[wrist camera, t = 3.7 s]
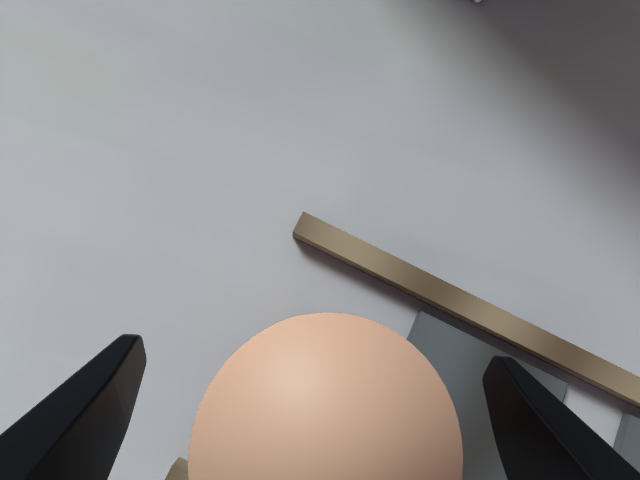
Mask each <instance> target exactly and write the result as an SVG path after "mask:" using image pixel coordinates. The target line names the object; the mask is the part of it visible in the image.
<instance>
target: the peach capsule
mask: <svg viewBox="0 0 640 480" xmlns="http://www.w3.org/2000/svg"><path fill="white" fill-rule="evenodd" d="M462 470H463V449H462V437H461V432H460V427H459V421H458V418H457V415H456V411H455V408H454V405H453V402H452V400H451V398H450V395H449V393H448V391H447V389H446V386H445V385H444V383H443V381H442V380H441V378H440V376H439V375H438V373H437V371H436V370H435V369H434V367H433V366H432V365H431V364H430V362H429V361H428V360H427V359H426V357H425V356H424V355H423V354H422V353H421V352H420V351H419V350H418V349H417V348H416V347H415V346H414V345H413V344H411V343H410V342H409V341H407V340H406V339H405V338H404V337H402V336H401V335H400V334H398V333H396V332H395V331H393V330H391V329H389V328H388V327H386V326H384V325H382V324H379V323H377V322H374V321H372V320H370V319H366V318H363V317H359V316H355V315H350V314H342V313H314V314H306V315H298V316H293V317H289V318H286V319H284V320H281V321H279V322H278V323H276V324H274V325H272V326H270V327H269V328H267V329H265V330H263V331H262V332H260V333H258V334H257V335H255V336H254V337H252V338H251V339H250V340H248V341H247V342H246V343H245V344H243V345H242V346H241V347H240V348H239V349H238V350H237V351H236V352H235V353H234V354H233V355H232V356H231V357H230V358H229V359H228V360H227V361H226V362H225V363H224V365H223V366H222V367H221V369H220V370H219V371H218V372H217V374H216V375H215V377H214V379H213V380H212V382H211V384H210V385H209V387H208V389H207V390H206V392H205V394H204V397H203V399H202V401H201V403H200V406H199V408H198V411H197V414H196V417H195V421H194V424H193V427H192V433H191V438H190V444H189V455H188V477H189V480H462Z"/></svg>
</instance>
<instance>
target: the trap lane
mask: <svg viewBox="0 0 640 480" xmlns="http://www.w3.org/2000/svg"><path fill="white" fill-rule="evenodd" d="M293 237H295V238H297V239H299V240H301V241H303V242H305V243H307V244H309V245H311V246H313V247H315V248H317V249H319V250H321V251H323V252H325V253H327V254H329V255H331V256H333V257H335V258H337V259H339V260H341V261H343V262H345V263H347V264H349V265H351V266H353V267H355V268H357V269H359V270H361V271H363V272H365V273H367V274H369V275H371V276H373V277H376V278H378V279H380V280H382V281H384V282H386V283H388V284H390V285H392V286H394V287H396V288H398V289H400V290H402V291H404V292H406V293H408V294H410V295H412V296H414V297H416V298H418V299H420V300H422V301H424V302H426V303H428V304H430V305H432V306H434V307H436V308H438V309H440V310H442V311H444V312H446V313H448V314H450V315H452V316H454V317H456V318H458V319H461V320H463V321H465V322H467V323H469V324H471V325H473V326H475V327H477V328H479V329H481V330H483V331H485V332H487V333H489V334H491V335H493V336H495V337H497V338H499V339H501V340H503V341H505V342H507V343H509V344H511V345H513V346H515V347H517V348H519V349H521V350H523V351H525V352H527V353H529V354H531V355H533V356H535V357H537V358H539V359H541V360H543V361H546V362H548V363H550V364H552V365H554V366H556V367H558V368H560V369H562V370H564V371H566V372H568V373H570V374H572V375H574V376H576V377H578V378H580V379H582V380H584V381H586V382H588V383H590V384H592V385H594V386H596V387H598V388H600V389H602V390H604V391H606V392H608V393H610V394H612V395H614V396H616V397H618V398H620V399H622V400H624V401H626V402H628V403H631V404H633V405H635V406H637V407H639V408H640V377H638V376H636V375H634V374H632V373H630V372H628V371H626V370H624V369H622V368H620V367H618V366H616V365H614V364H612V363H610V362H608V361H606V360H604V359H602V358H600V357H598V356H595V355H593V354H591V353H589V352H587V351H585V350H583V349H581V348H579V347H577V346H575V345H573V344H571V343H569V342H567V341H565V340H563V339H561V338H559V337H557V336H555V335H553V334H551V333H549V332H547V331H545V330H543V329H541V328H539V327H537V326H535V325H533V324H531V323H529V322H527V321H524V320H522V319H520V318H518V317H516V316H514V315H512V314H510V313H508V312H506V311H504V310H502V309H500V308H498V307H496V306H494V305H492V304H490V303H488V302H486V301H484V300H482V299H480V298H478V297H476V296H474V295H472V294H470V293H468V292H466V291H464V290H462V289H460V288H458V287H456V286H453V285H451V284H449V283H447V282H445V281H443V280H441V279H439V278H437V277H435V276H433V275H431V274H429V273H427V272H425V271H423V270H421V269H419V268H417V267H415V266H413V265H411V264H409V263H407V262H405V261H403V260H401V259H399V258H397V257H395V256H393V255H391V254H389V253H387V252H384V251H382V250H380V249H378V248H376V247H374V246H372V245H370V244H368V243H366V242H364V241H362V240H360V239H358V238H356V237H354V236H352V235H350V234H348V233H346V232H344V231H342V230H340V229H338V228H336V227H334V226H332V225H330V224H328V223H326V222H324V221H322V220H320V219H318V218H316V217H313V216H311V215H309V214H307V213H305V212H303V213H302V215H301V217H300V219H299V221H298V223H297V225H296V227H295V228H294V230H293ZM407 341H409V342H410V343H411V344H413V345H414V346H415V347H416V348H417V349H418V350H419V351H420V352H421V353H422V354H423V355H424V356H425V357H426V359H427V360H428V361H429V362H430V364H431V365H432V366H433V367H434V369H435V370H436V371H437V373H438V375H439V376H440V378H441V380H442V381H443V383H444V385H445V386H446V389H447V391H448V393H449V395H450V398H451V400H452V402H453V405H454V408H455V411H456V415H457V418H458V421H459V427H460V432H461V437H462V449H463V470H462V480H507V477H506V474H505V471H504V468H503V465H502V462H501V459H500V455H499V452H498V449H497V446H496V442H495V438H494V434H493V430H492V425H491V421H490V416H489V411H488V407H487V402H486V398H485V393H484V388H483V383H482V378H483V374H484V372H485V370H486V368H487V366H488V364H489V362H490V360H491V358H492V357H493V356H494V355H507V356H511V355H509V354H507V353H505V352H503V351H501V350H499V349H497V348H495V347H493V346H491V345H489V344H487V343H485V342H483V341H481V340H479V339H477V338H475V337H473V336H471V335H469V334H467V333H465V332H463V331H461V330H459V329H457V328H455V327H453V326H451V325H449V324H447V323H445V322H443V321H441V320H439V319H437V318H435V317H433V316H431V315H429V314H427V313H425V312H423V311H419V312H418V314H417V317H416V319H415V321H414V324H413V326H412V328H411V331H410V333H409V336H408V338H407ZM511 357H512V358H514V359H515V360H516V361H517V362H518V363H519V364H520V365H522V366H523V367H524V368H525V369H526V370H527V371H528V372H529V373H530V374H531V375H533V376H534V377H535V378H536V379H537V380H538V381H539V382H540V383H541V384H542V385H544V386H545V387H546V388H547V389H548V390H549V391H550V392H551V393H552V394H554V395H555V396H556V397H557V398H558V399H559V400H560V401H561V402H562V400H563V397H564V394H565V391H566V388H567V385H568V383H566V382H564V381H562V380H560V379H558V378H556V377H554V376H552V375H550V374H548V373H546V372H544V371H542V370H540V369H538V368H536V367H534V366H532V365H530V364H528V363H526V362H524V361H522V360H520V359H518V358H516V357H514V356H511ZM613 449H614V450H615V451H616V452H617V453H619V454H620V455H621V456H622V457H623V458H624V459H625V460H626V461H627V462H629V463H630V464H631V465H632V466H633V467H634V468H635V469H636V470H637V471H638V472H640V419H639V418H637V417H635V416H633V415H630V414H627V413H623V416H622V419H621V423H620V426H619V430H618V433H617V437H616V440H615V444H614V447H613ZM165 480H189V477H188V461H186V460H184V459H182V458H180V457H179V458H178V459H177V460H176V462H175V463H174V464H173V465H172V467H171V469H170V471H169V473H168V475H167V476H166V478H165Z"/></svg>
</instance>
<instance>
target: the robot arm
mask: <svg viewBox="0 0 640 480" xmlns="http://www.w3.org/2000/svg"><path fill="white" fill-rule="evenodd" d="M145 366H146V353H145V349H144V344H143V340H142V337H141V336H140V335H136V334H123V335H121V336H119V337H118V338H117V339H116V340H115V341H113V342H112V343H111V344H110V345H109V346H107V347H106V348H105V349H104V350H102V351H101V352H100V353H99V354H98V355H96V356H95V357H94V358H93V359H92V360H90V361H89V362H88V363H87V364H86V365H84V366H83V367H82V368H81V369H79V370H78V371H77V372H76V373H75V374H73V375H72V376H71V377H70V378H69V379H67V380H66V381H65V382H64V383H63V384H61V385H60V386H59V387H58V388H56V389H55V390H54V391H53V392H52V393H50V394H49V395H48V396H47V397H46V398H44V399H43V400H42V401H41V402H40V403H38V404H37V405H36V406H35V407H33V408H32V409H31V410H30V411H29V412H27V413H26V414H25V415H24V416H23V417H21V418H20V419H19V420H18V421H17V422H15V423H14V424H13V425H12V426H10V427H9V428H8V429H7V430H6V431H4V432H3V433H2V434H1V435H0V480H107V479H108V476H109V474H110V471H111V469H112V466H113V464H114V462H115V459H116V457H117V454H118V452H119V449H120V447H121V444H122V442H123V439H124V437H125V434H126V431H127V429H128V426H129V423H130V419H131V416H132V412H133V409H134V405H135V402H136V398H137V395H138V391H139V388H140V384H141V381H142V377H143V374H144V370H145ZM482 383H483V388H484V393H485V398H486V402H487V407H488V411H489V416H490V421H491V425H492V430H493V434H494V438H495V442H496V446H497V449H498V452H499V455H500V459H501V462H502V465H503V468H504V471H505V474H506V477H507V480H640V472H638V471H637V470H636V469H635V468H634V467H633V466H632V465H631V464H630V463H629V462H627V461H626V460H625V459H624V458H623V457H622V456H621V455H620V454H619V453H617V452H616V451H615V450H614V449H613V448H612V447H611V446H610V445H609V444H608V443H606V442H605V441H604V440H603V439H602V438H601V437H600V436H599V435H598V434H597V433H595V432H594V431H593V430H592V429H591V428H590V427H589V426H588V425H587V424H585V423H584V422H583V421H582V420H581V419H580V418H579V417H578V416H577V415H576V414H574V413H573V412H572V411H571V410H570V409H569V408H568V407H567V406H566V405H565V404H563V403H562V402H561V401H560V400H559V399H558V398H557V397H556V396H555V395H554V394H552V393H551V392H550V391H549V390H548V389H547V388H546V387H545V386H544V385H542V384H541V383H540V382H539V381H538V380H537V379H536V378H535V377H534V376H533V375H531V374H530V373H529V372H528V371H527V370H526V369H525V368H524V367H523V366H522V365H520V364H519V363H518V362H517V361H516V360H515V359H514V358H512V357H511V356H507V355H494V356H493V357H492V358H491V360H490V362H489V364H488V366H487V368H486V370H485V372H484V374H483V378H482Z"/></svg>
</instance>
